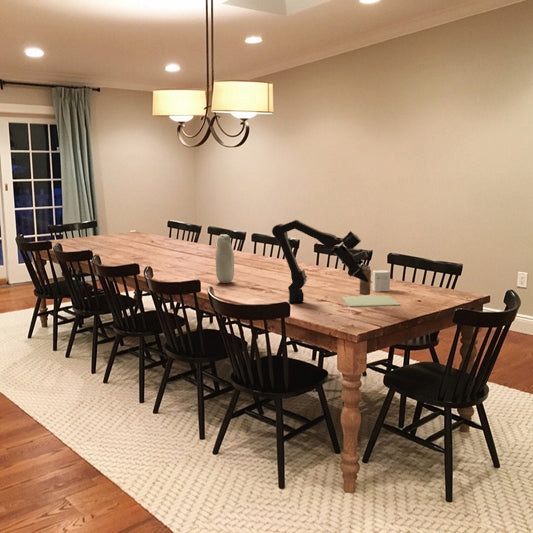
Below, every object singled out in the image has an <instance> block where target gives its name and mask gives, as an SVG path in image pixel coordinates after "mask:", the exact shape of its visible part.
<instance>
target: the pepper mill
mask: <svg viewBox="0 0 533 533" xmlns="http://www.w3.org/2000/svg"><path fill="white" fill-rule="evenodd" d="M361 267H362V272H363V273H364V274H365V276H366V277H367V279H368V282H365V281H363V280H361V279H359V292H358V294H359V295H360V296H371V288H372V287H371V284H372V282H371V279H372V270H371V266H370V265H368V264H364V266H361Z"/></svg>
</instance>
